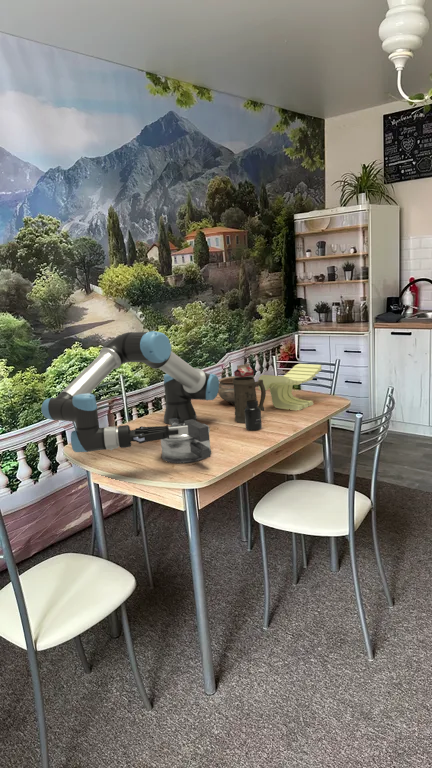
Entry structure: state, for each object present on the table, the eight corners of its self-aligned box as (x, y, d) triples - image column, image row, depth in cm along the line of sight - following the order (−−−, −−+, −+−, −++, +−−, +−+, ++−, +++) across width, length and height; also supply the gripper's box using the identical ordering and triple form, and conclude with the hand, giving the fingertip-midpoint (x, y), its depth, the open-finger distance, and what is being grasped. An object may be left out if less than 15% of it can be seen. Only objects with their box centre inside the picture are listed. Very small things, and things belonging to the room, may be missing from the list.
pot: (152, 451, 208) (150, 431, 207) (196, 442, 216) (194, 422, 214) (182, 474, 181) (179, 452, 179) (231, 463, 188) (229, 441, 187)
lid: (150, 431, 206) (148, 415, 204) (194, 422, 213) (193, 407, 212) (180, 450, 179) (178, 432, 178) (229, 439, 187) (228, 422, 186)
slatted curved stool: (295, 397, 277) (293, 363, 274) (322, 400, 267) (321, 364, 263) (260, 411, 256) (257, 374, 252) (288, 414, 245) (285, 376, 242)
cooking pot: (230, 396, 292) (228, 374, 290) (263, 397, 284) (261, 374, 282) (210, 407, 270) (207, 384, 268) (244, 409, 262) (243, 384, 260)
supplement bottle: (260, 430, 224) (259, 402, 221) (244, 431, 225) (242, 403, 223) (262, 426, 230) (261, 398, 228) (247, 426, 232) (245, 399, 229)
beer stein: (240, 424, 235) (240, 380, 232) (229, 420, 244) (228, 377, 241) (270, 420, 242) (269, 377, 238) (257, 416, 251) (257, 374, 248)
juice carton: (255, 409, 260) (252, 364, 256) (244, 411, 257) (240, 366, 253) (248, 406, 266) (245, 362, 262) (236, 409, 263) (233, 364, 259)
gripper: (121, 442, 190) (187, 435, 192) (118, 453, 177) (189, 445, 179) (118, 421, 189) (186, 414, 191) (115, 431, 176) (187, 424, 178)
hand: (187, 429), depth 185 cm, fingers closed
